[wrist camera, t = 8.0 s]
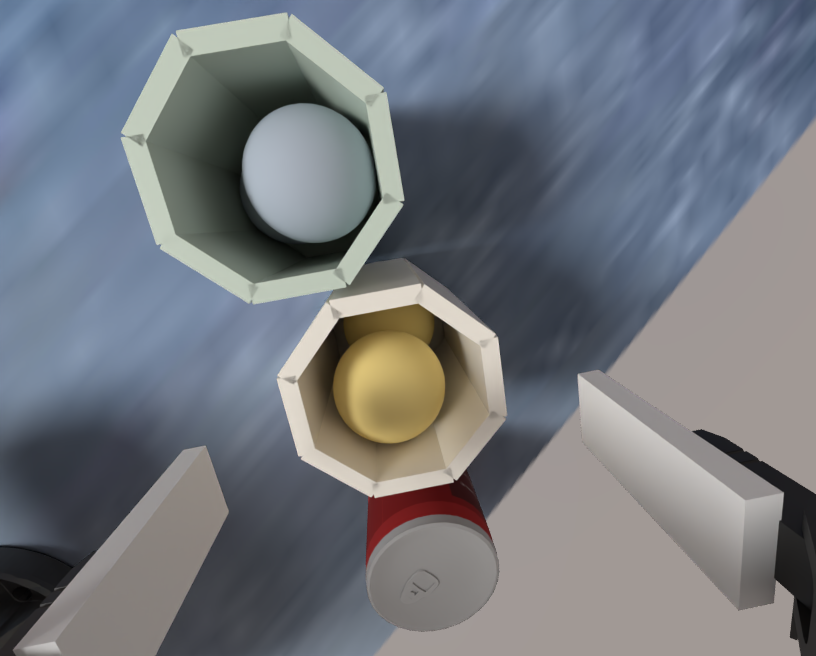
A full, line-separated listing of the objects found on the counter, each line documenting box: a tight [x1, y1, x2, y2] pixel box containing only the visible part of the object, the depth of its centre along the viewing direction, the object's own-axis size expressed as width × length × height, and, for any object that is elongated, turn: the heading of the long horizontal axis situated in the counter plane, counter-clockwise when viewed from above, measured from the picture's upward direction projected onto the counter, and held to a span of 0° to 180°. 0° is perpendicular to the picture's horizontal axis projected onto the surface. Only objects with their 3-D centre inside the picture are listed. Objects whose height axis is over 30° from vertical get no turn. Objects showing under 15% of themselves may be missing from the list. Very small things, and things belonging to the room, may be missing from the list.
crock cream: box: [277, 258, 507, 498], centre depth 24 cm, size 10×10×13 cm
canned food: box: [366, 469, 499, 632], centre depth 28 cm, size 8×8×11 cm
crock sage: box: [121, 13, 404, 304], centre depth 21 cm, size 10×10×13 cm
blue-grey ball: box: [242, 103, 376, 243], centre depth 19 cm, size 6×6×6 cm
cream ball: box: [343, 304, 434, 346], centre depth 26 cm, size 6×6×6 cm
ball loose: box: [333, 330, 445, 444], centre depth 22 cm, size 6×6×6 cm
